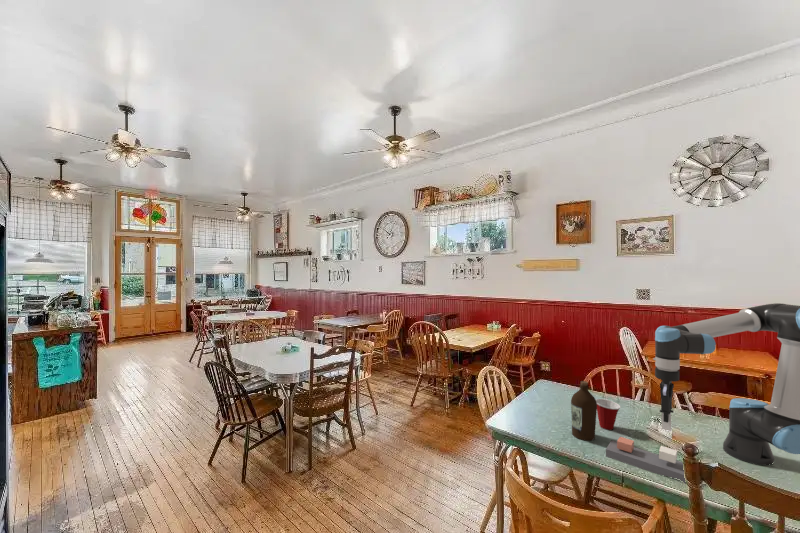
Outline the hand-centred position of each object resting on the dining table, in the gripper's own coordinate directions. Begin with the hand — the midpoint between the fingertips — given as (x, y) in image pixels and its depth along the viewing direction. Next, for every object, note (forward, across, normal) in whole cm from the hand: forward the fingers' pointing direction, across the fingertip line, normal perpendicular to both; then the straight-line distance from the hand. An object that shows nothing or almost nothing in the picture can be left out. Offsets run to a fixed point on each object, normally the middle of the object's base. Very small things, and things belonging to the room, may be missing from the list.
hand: (666, 429), depth 136 cm
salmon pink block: (+12, 0, -13) cm, 18 cm away
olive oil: (+16, -6, -32) cm, 36 cm away
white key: (+11, 0, +1) cm, 11 cm away
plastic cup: (+16, -23, -26) cm, 38 cm away
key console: (+16, 0, -6) cm, 17 cm away
